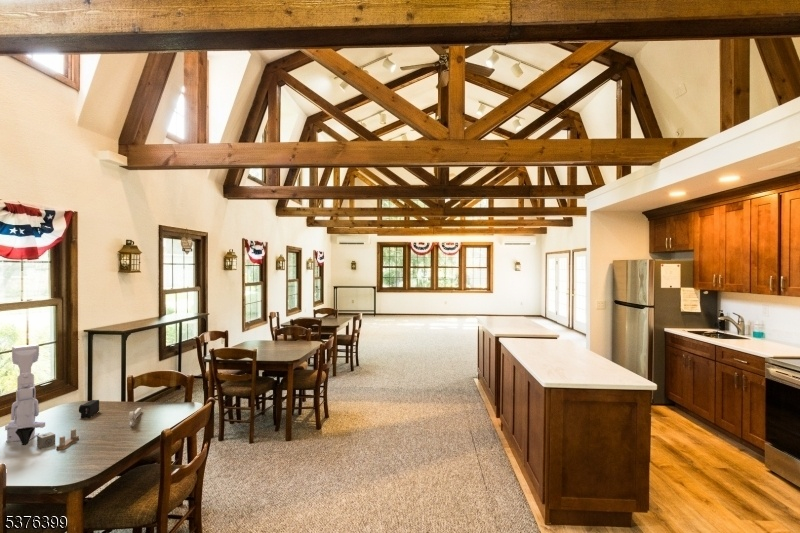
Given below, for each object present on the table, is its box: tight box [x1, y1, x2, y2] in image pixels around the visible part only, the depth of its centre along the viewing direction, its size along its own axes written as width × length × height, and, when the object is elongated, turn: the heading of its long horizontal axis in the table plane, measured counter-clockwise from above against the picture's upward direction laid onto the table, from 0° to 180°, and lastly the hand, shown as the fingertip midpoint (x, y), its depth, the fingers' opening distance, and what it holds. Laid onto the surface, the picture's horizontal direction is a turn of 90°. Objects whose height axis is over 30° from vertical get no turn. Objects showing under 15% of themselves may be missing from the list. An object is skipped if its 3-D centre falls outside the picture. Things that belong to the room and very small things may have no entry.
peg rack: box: [55, 428, 80, 451], centre depth 193 cm, size 3×12×5 cm, turn 12°
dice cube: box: [36, 431, 56, 450], centre depth 191 cm, size 5×5×5 cm
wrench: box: [128, 407, 142, 427], centre depth 224 cm, size 8×2×30 cm
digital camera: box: [78, 399, 100, 419], centre depth 233 cm, size 10×5×7 cm, turn 11°
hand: (25, 444), depth 189 cm, fingers closed
